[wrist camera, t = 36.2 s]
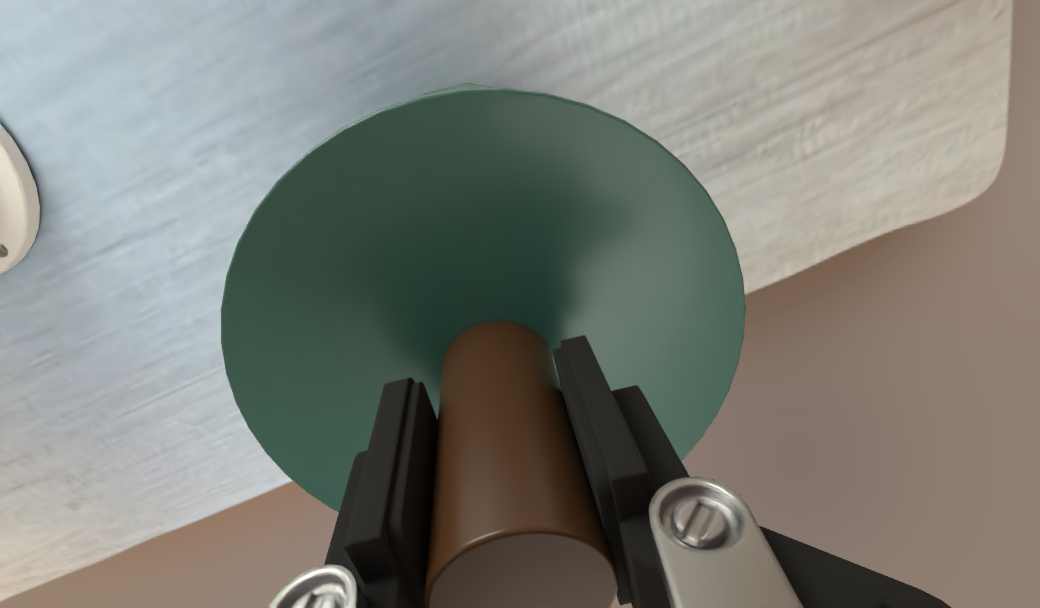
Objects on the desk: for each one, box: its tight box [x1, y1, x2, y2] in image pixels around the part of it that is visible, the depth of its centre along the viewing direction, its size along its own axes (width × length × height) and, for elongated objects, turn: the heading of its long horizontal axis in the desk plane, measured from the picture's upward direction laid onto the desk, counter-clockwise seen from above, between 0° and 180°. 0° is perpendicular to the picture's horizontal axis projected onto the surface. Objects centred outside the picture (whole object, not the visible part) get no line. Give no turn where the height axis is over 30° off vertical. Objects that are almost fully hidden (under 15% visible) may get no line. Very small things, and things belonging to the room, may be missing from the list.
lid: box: [221, 88, 746, 608], centre depth 10 cm, size 13×13×7 cm
